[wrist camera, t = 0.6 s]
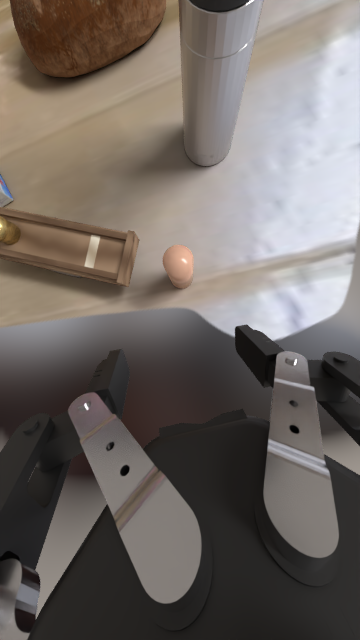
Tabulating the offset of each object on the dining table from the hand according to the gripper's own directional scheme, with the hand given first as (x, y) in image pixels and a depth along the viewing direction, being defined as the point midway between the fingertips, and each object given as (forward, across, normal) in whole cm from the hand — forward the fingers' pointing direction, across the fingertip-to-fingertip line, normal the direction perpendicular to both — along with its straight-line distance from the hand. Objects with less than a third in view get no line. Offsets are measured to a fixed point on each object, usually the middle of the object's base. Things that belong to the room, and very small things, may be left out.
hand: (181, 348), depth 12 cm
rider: (+25, -4, 0) cm, 25 cm away
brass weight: (+29, +26, -12) cm, 41 cm away
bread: (+49, +4, -47) cm, 67 cm away
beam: (+31, +17, -7) cm, 36 cm away
